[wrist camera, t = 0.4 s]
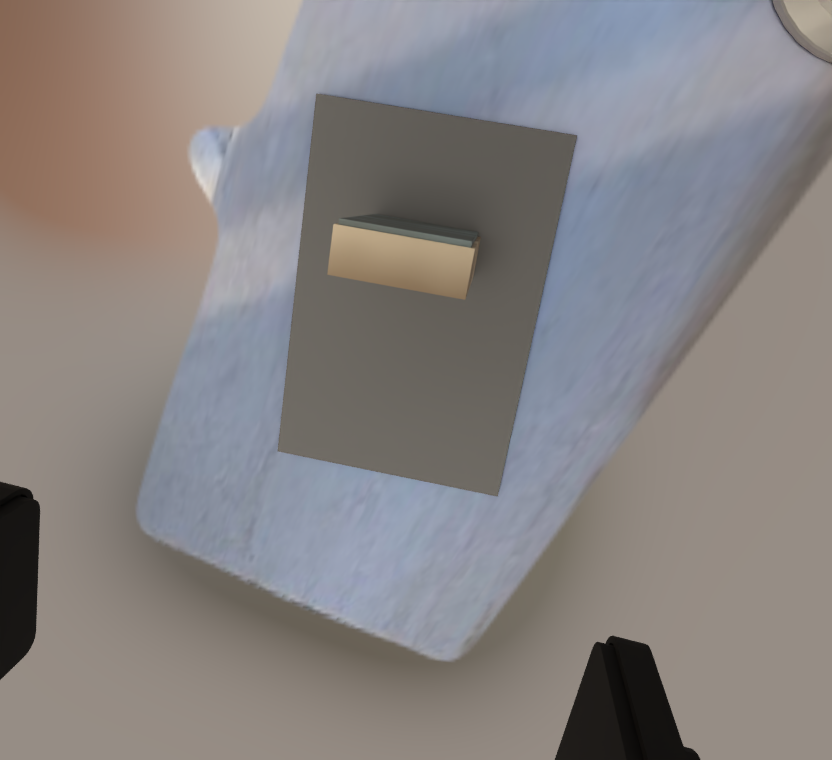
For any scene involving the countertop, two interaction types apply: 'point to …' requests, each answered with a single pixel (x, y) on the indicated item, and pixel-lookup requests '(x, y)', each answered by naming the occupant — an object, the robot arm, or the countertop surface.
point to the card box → (404, 254)
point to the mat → (420, 293)
